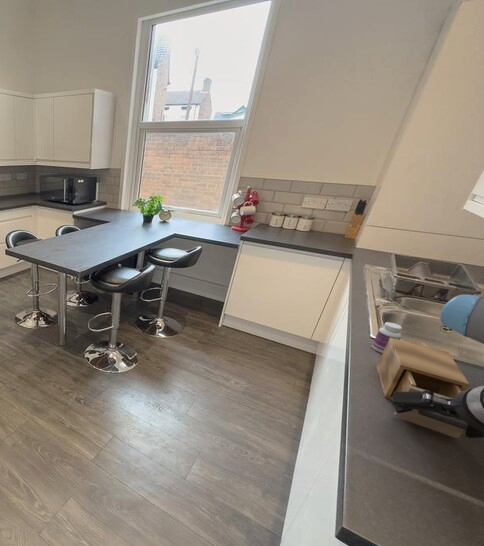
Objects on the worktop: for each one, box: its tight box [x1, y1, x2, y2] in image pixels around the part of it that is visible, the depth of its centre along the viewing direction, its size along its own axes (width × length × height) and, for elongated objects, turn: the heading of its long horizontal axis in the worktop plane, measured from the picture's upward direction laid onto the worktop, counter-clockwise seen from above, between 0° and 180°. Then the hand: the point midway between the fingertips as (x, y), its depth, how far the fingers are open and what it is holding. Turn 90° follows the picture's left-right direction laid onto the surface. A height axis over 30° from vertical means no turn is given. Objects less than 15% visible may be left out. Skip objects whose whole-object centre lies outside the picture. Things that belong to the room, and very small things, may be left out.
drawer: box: [392, 369, 468, 439], centre depth 75 cm, size 19×11×9 cm, turn 144°
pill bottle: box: [371, 321, 403, 354], centre depth 102 cm, size 5×5×10 cm
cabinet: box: [375, 338, 471, 401], centre depth 84 cm, size 16×12×11 cm
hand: (431, 418), depth 72 cm, fingers closed on drawer, 11 cm apart
